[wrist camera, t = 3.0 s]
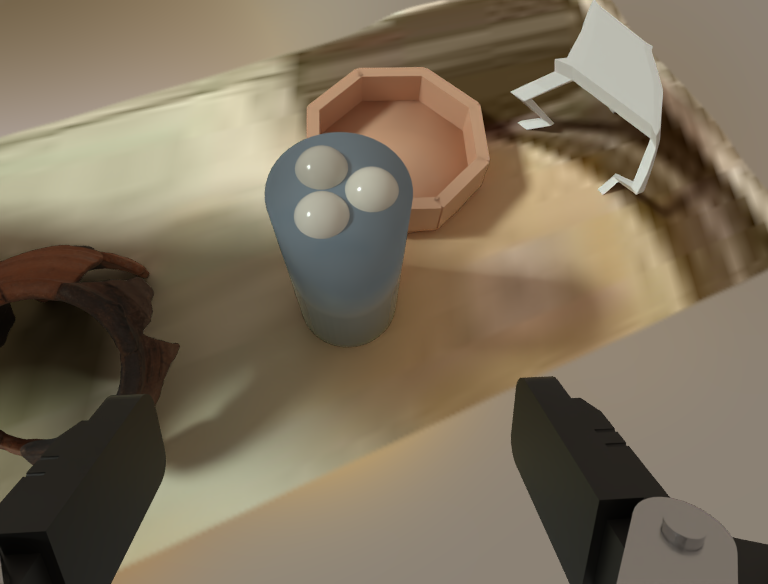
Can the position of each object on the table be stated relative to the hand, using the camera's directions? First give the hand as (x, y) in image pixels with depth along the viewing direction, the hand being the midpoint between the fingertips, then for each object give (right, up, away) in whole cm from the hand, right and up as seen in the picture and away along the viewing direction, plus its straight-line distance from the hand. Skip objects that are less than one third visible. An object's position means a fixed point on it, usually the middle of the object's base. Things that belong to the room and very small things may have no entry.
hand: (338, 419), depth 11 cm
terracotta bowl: (+2, +11, +18) cm, 21 cm away
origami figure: (+14, +13, +20) cm, 27 cm away
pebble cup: (-1, +2, +15) cm, 15 cm away
